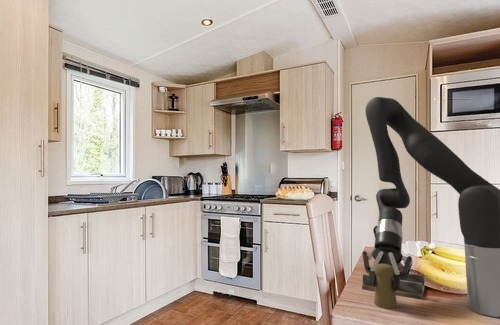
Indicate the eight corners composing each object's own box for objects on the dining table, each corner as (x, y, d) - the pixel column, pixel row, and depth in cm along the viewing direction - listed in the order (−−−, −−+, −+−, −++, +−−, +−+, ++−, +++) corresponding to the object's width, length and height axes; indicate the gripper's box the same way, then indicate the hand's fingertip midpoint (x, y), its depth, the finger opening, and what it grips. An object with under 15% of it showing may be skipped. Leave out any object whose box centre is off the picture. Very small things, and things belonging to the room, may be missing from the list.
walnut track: (424, 286, 98) (424, 274, 99) (422, 299, 87) (421, 285, 88) (370, 278, 108) (370, 266, 108) (362, 288, 97) (361, 276, 97)
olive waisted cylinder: (400, 309, 81) (398, 267, 81) (376, 307, 82) (374, 267, 83) (394, 300, 86) (392, 262, 87) (372, 299, 88) (370, 261, 88)
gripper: (362, 228, 96) (354, 276, 85) (413, 231, 88) (411, 285, 77) (367, 242, 100) (359, 289, 89) (415, 246, 92) (414, 299, 81)
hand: (383, 287), depth 83 cm, fingers closed on olive waisted cylinder, 5 cm apart
